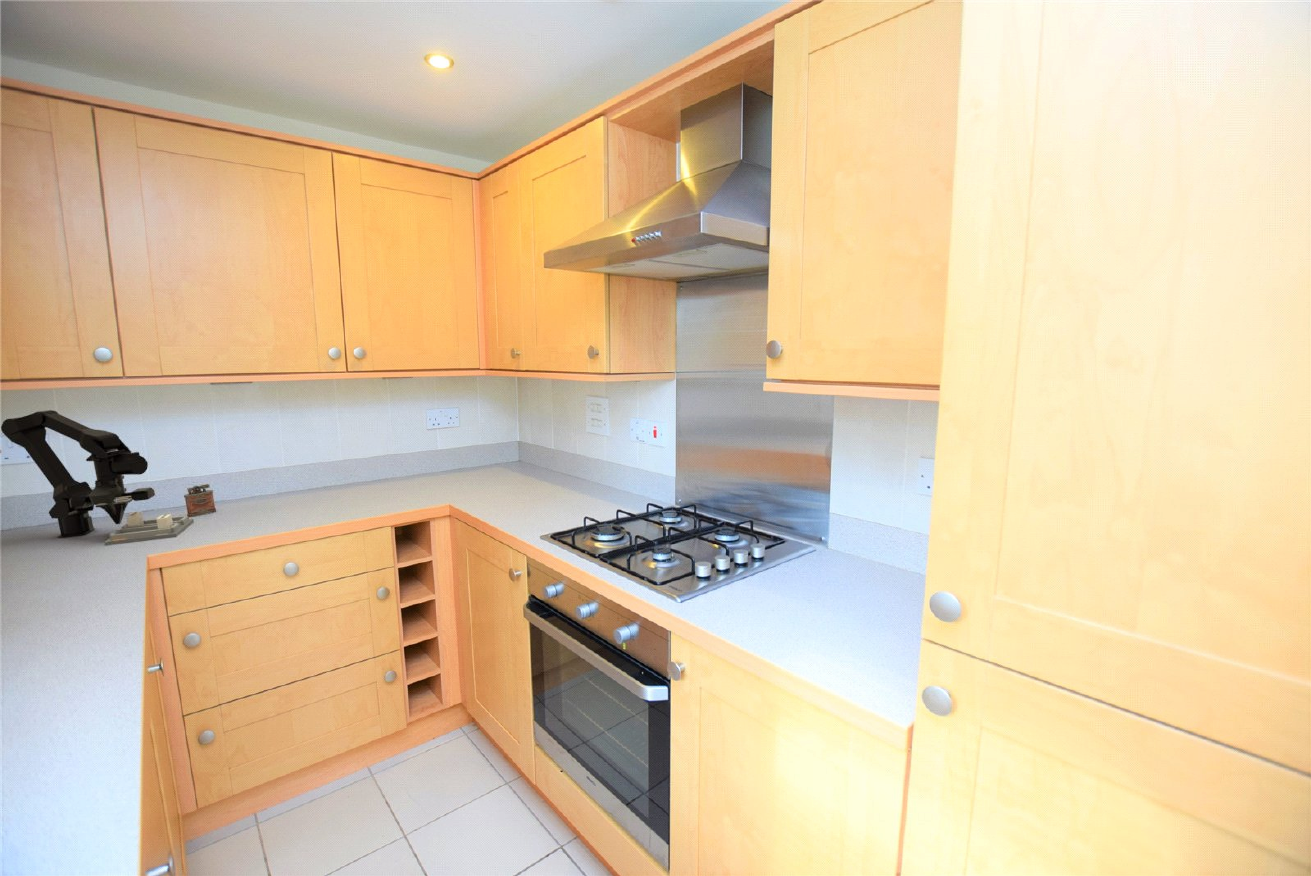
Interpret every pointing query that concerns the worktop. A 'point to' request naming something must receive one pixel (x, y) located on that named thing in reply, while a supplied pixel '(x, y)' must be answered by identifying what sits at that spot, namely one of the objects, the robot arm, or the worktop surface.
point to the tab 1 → (135, 519)
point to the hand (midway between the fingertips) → (118, 524)
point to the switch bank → (148, 531)
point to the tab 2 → (164, 521)
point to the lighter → (199, 501)
